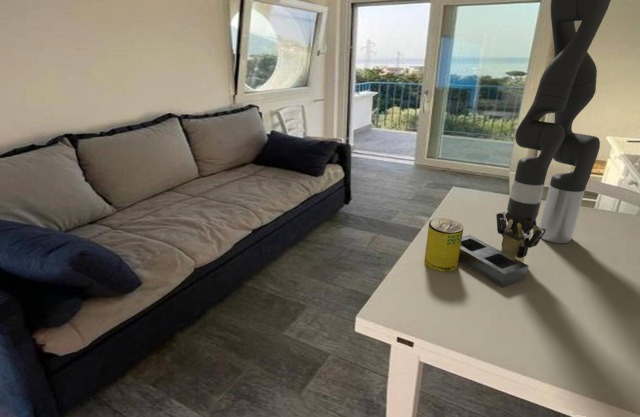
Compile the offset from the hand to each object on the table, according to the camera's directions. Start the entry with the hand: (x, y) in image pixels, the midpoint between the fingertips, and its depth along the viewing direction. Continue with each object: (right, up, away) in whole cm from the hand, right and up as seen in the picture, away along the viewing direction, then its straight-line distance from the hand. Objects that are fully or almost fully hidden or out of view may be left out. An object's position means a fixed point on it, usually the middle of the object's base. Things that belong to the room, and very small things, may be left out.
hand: (513, 253), depth 107 cm
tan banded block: (0, -2, +1) cm, 2 cm away
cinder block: (-9, -3, -1) cm, 10 cm away
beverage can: (-21, -3, 0) cm, 21 cm away
